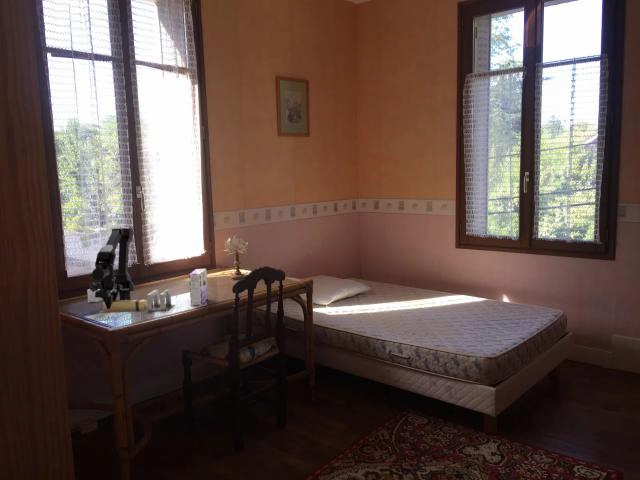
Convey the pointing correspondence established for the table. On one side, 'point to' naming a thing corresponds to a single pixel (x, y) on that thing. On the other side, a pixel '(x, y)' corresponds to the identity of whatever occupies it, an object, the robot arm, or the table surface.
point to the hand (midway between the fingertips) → (110, 307)
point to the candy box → (198, 287)
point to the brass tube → (127, 305)
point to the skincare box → (93, 296)
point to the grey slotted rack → (151, 307)
